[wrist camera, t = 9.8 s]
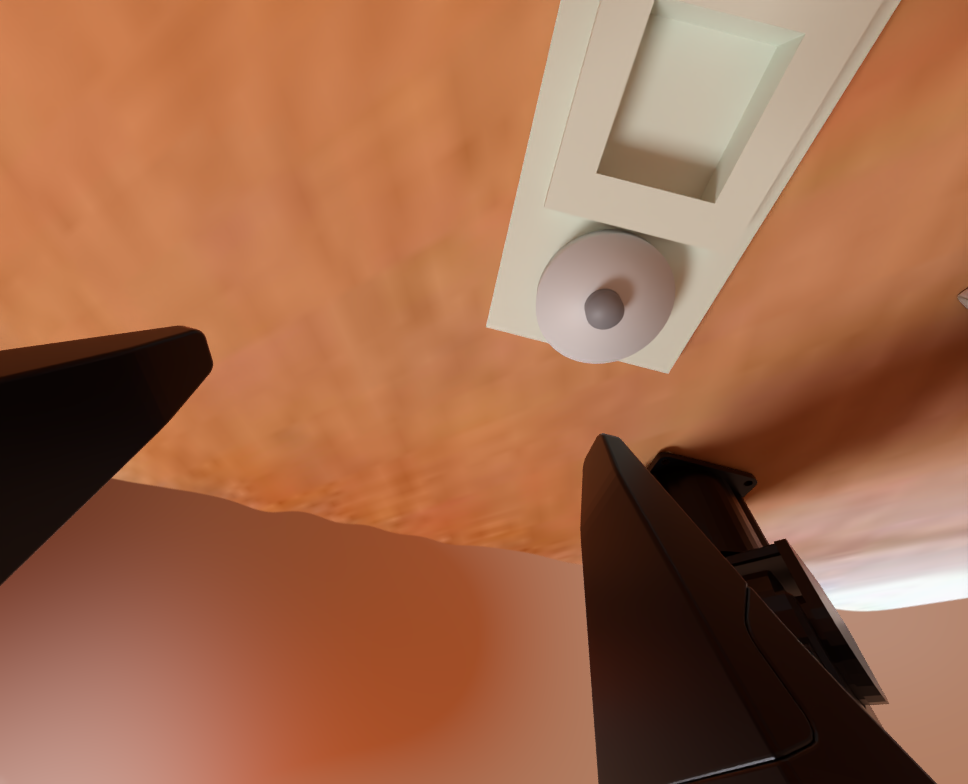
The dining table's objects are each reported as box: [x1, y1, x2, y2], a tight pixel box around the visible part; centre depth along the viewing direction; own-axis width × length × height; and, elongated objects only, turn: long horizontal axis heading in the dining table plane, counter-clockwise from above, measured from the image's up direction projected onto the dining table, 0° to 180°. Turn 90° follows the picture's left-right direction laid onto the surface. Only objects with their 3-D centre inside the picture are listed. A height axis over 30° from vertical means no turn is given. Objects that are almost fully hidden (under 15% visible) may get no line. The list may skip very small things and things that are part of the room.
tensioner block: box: [486, 0, 901, 374], centre depth 14 cm, size 10×14×3 cm
